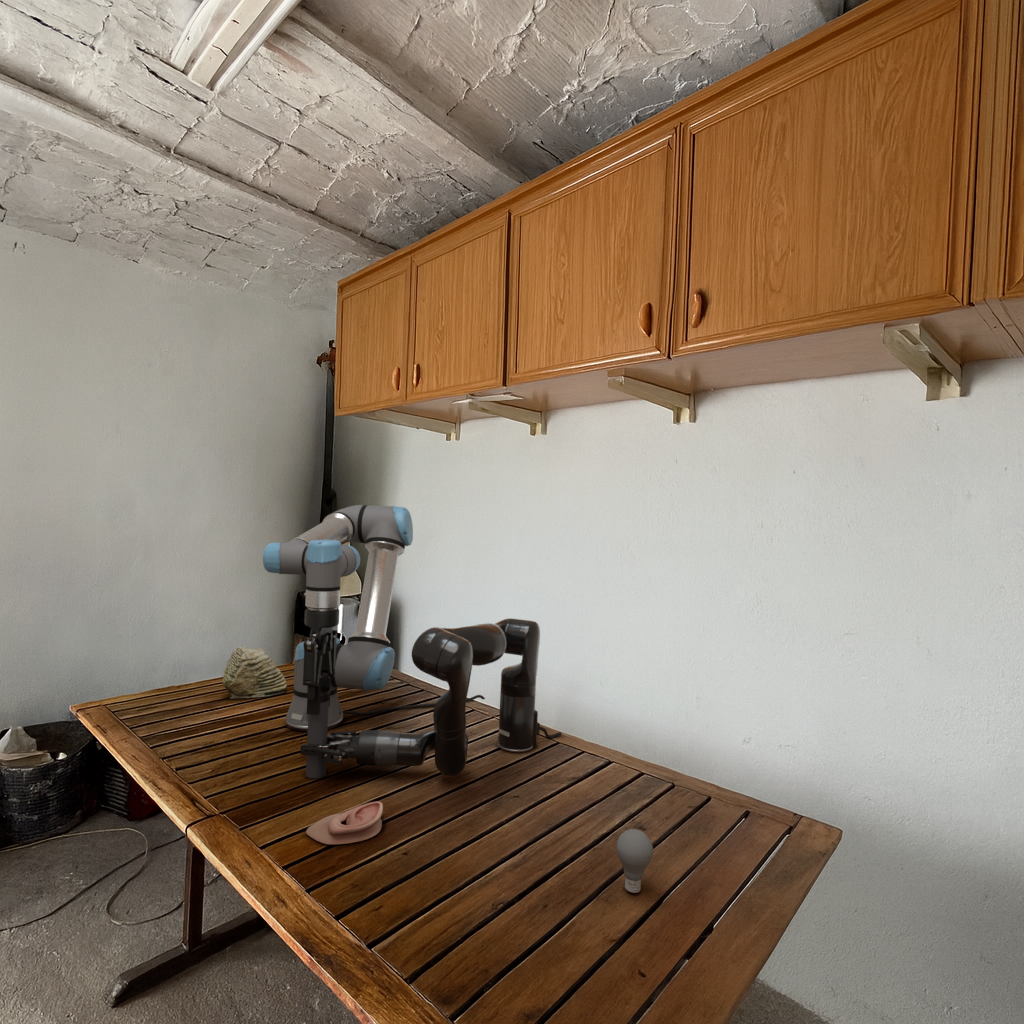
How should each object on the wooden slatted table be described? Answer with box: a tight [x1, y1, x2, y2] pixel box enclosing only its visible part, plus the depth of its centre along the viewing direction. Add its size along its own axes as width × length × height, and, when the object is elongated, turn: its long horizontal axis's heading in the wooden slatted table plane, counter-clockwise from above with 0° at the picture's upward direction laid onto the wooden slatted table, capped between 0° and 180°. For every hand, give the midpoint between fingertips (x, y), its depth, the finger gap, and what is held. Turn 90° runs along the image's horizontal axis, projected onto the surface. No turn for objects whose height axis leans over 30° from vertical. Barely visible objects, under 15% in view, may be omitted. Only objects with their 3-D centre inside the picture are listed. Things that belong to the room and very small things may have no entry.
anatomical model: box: [305, 800, 384, 846], centre depth 121 cm, size 13×4×12 cm
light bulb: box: [615, 828, 654, 894], centre depth 106 cm, size 6×6×10 cm
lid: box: [320, 687, 330, 702], centre depth 144 cm, size 5×5×2 cm
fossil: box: [222, 646, 288, 699], centre depth 198 cm, size 9×18×15 cm, turn 132°
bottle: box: [305, 700, 329, 779], centre depth 144 cm, size 4×4×19 cm
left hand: (318, 709), depth 144 cm, fingers open, 5 cm apart
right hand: (305, 745), depth 144 cm, fingers closed on bottle, 4 cm apart
